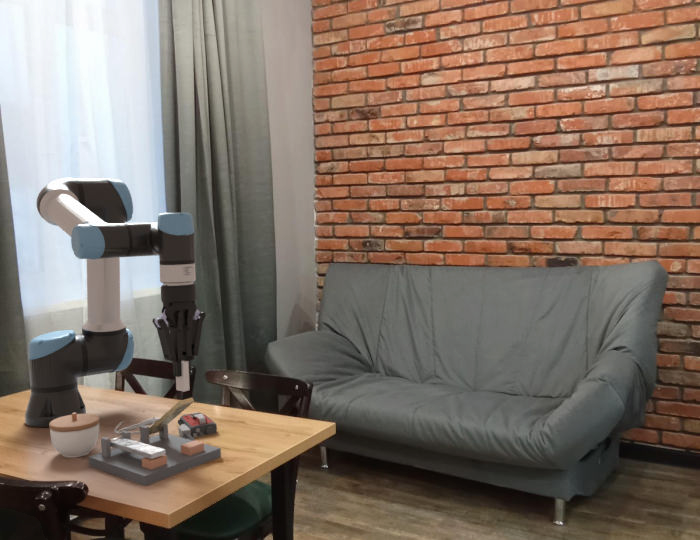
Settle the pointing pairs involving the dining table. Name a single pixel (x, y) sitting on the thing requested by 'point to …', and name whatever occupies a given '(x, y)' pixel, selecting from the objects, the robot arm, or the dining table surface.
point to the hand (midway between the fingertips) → (183, 390)
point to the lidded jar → (74, 434)
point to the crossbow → (136, 425)
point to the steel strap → (137, 447)
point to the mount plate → (159, 473)
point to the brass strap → (170, 415)
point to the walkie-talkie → (196, 426)
